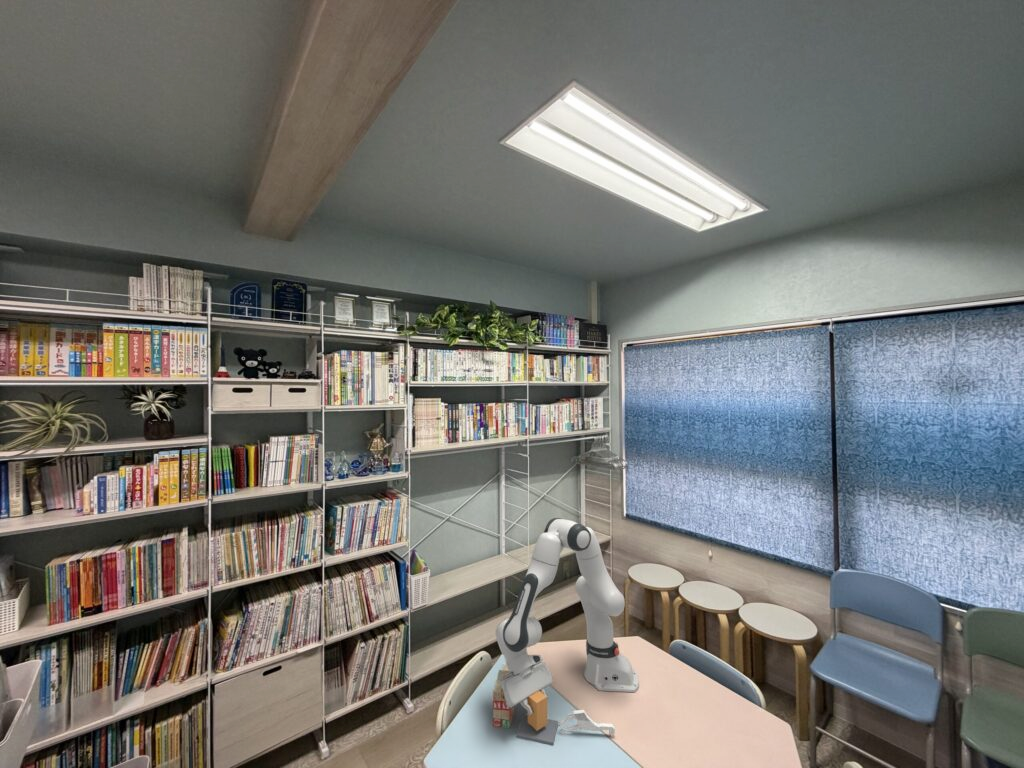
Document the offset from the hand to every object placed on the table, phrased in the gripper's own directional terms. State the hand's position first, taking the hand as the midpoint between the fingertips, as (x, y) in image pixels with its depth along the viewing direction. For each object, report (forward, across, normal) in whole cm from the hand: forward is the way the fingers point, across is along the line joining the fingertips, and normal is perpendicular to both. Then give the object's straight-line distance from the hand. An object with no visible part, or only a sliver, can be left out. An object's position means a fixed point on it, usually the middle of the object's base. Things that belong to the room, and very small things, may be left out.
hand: (538, 709), depth 139 cm
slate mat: (+5, 0, +6) cm, 7 cm away
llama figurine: (+13, +12, -3) cm, 18 cm away
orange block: (+3, 0, +4) cm, 5 cm away
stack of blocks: (-7, -1, +17) cm, 19 cm away
